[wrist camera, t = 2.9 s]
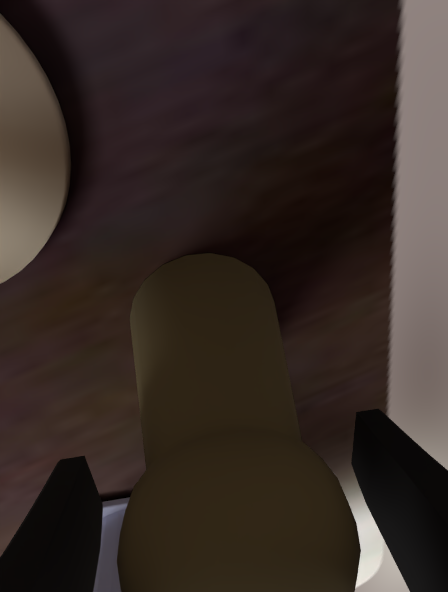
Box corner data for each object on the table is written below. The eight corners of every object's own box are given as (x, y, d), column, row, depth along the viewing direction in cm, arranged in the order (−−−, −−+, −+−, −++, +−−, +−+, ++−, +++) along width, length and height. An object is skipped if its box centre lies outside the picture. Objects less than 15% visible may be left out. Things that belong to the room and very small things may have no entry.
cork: (286, 256, 16) (458, 524, 7) (264, 376, 19) (362, 685, 10) (129, 249, 15) (70, 550, 6) (130, 377, 18) (92, 720, 9)
